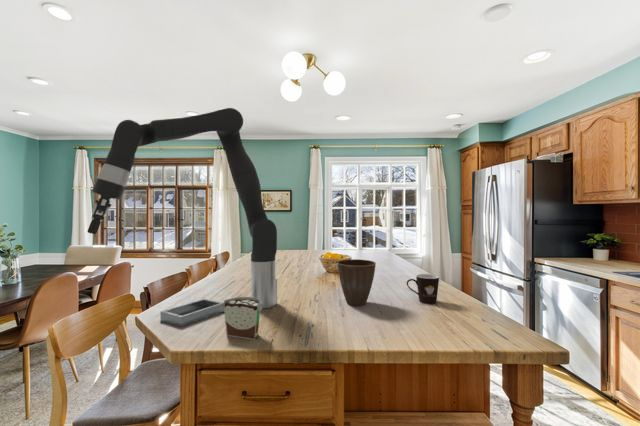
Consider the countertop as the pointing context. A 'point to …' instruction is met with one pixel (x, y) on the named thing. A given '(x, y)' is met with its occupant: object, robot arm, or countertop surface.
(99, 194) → the robot arm
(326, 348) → the countertop surface
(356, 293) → the plant pot
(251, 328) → the food container
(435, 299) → the coffee mug
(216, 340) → the countertop surface
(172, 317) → the collar
